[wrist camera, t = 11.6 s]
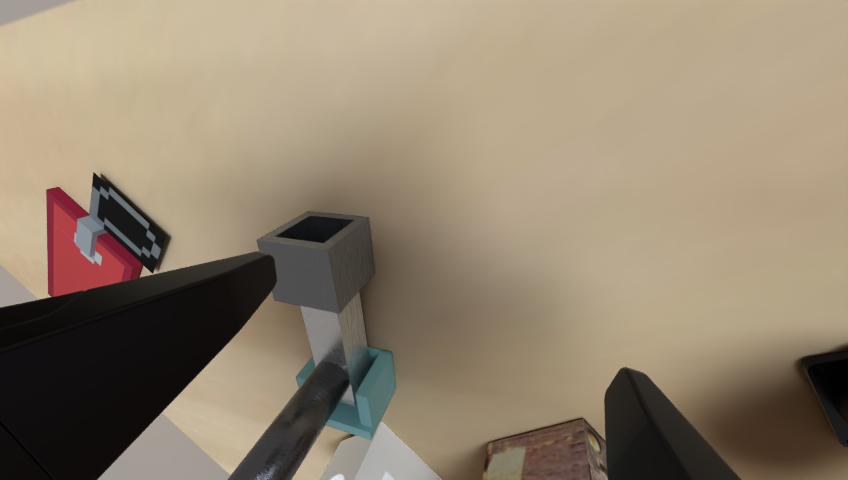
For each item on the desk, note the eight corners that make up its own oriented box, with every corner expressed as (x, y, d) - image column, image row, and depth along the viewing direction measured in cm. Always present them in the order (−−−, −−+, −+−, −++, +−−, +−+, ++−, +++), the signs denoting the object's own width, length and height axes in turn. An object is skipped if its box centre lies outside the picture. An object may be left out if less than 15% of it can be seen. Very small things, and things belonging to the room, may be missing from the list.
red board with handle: (189, 248, 30) (66, 132, 29) (159, 262, 28) (22, 136, 26) (142, 359, 46) (61, 288, 45) (120, 374, 44) (34, 299, 42)
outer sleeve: (308, 211, 23) (256, 240, 19) (368, 217, 22) (327, 250, 18) (319, 263, 25) (274, 300, 21) (375, 272, 24) (339, 313, 20)
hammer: (320, 260, 24) (153, 395, 13) (355, 265, 23) (205, 414, 13) (342, 369, 29) (234, 526, 19) (372, 377, 28) (275, 547, 18)
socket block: (328, 337, 29) (292, 381, 25) (392, 352, 27) (364, 402, 23) (336, 371, 31) (303, 418, 27) (395, 388, 29) (371, 440, 25)
